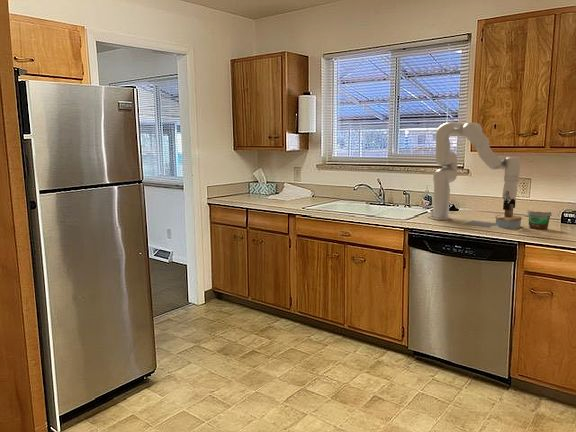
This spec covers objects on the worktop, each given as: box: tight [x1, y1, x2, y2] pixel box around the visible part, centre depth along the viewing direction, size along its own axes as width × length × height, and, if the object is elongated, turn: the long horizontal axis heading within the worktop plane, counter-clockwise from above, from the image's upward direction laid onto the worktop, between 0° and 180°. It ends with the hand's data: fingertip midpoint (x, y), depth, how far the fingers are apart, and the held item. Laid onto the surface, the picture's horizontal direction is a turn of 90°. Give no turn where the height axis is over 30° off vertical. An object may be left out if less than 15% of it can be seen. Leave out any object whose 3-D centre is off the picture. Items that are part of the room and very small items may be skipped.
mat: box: [463, 220, 496, 228], centre depth 277 cm, size 15×15×1 cm
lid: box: [495, 204, 523, 221], centre depth 268 cm, size 14×14×8 cm
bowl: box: [495, 218, 522, 229], centre depth 269 cm, size 12×12×5 cm
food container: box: [527, 209, 553, 231], centre depth 263 cm, size 12×6×10 cm, turn 56°
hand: (509, 208), depth 268 cm, fingers open, 9 cm apart
